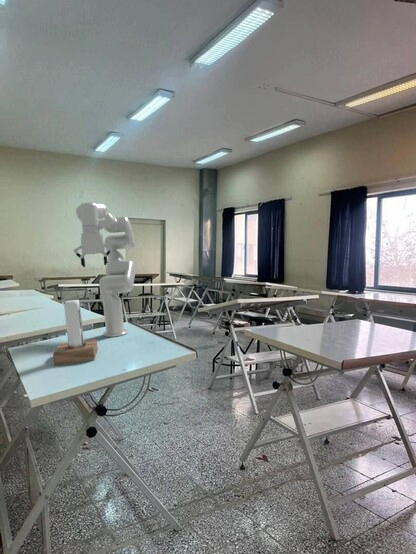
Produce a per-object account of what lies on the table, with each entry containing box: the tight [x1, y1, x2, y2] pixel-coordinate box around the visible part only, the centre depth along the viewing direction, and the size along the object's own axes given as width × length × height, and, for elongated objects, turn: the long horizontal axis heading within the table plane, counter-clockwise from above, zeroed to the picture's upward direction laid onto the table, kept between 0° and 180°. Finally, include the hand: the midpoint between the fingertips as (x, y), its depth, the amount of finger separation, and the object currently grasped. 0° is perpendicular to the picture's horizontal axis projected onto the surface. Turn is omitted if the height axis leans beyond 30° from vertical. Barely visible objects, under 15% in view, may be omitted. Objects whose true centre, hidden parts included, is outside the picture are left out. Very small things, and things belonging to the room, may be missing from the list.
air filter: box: [63, 299, 85, 349], centre depth 163 cm, size 6×6×25 cm
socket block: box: [52, 338, 99, 366], centre depth 164 cm, size 16×16×5 cm
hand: (94, 266), depth 176 cm, fingers open, 9 cm apart
